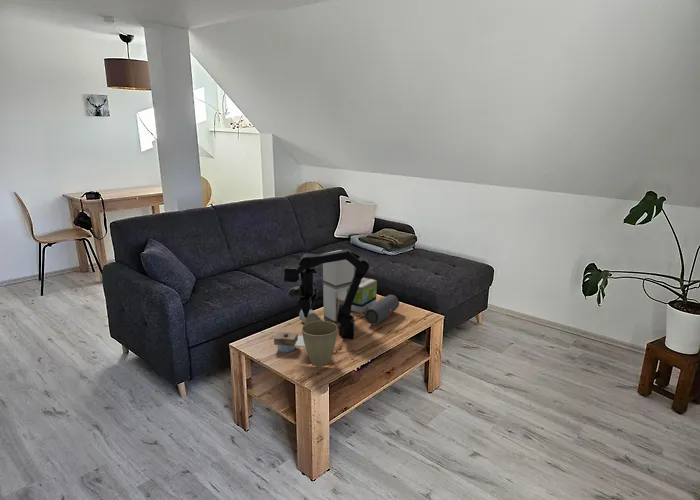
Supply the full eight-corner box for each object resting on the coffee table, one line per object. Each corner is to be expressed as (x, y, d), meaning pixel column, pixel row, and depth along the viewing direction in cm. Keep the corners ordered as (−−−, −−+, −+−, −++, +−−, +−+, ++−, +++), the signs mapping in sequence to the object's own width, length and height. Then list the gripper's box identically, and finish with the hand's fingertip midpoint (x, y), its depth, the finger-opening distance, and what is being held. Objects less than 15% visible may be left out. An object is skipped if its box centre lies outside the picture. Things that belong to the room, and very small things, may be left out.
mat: (310, 338, 220) (310, 336, 220) (305, 348, 211) (305, 346, 210) (289, 337, 221) (289, 335, 221) (284, 346, 212) (283, 344, 212)
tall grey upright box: (336, 325, 233) (335, 258, 224) (323, 319, 242) (322, 253, 232) (354, 320, 240) (354, 254, 231) (341, 313, 248) (341, 249, 239)
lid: (297, 339, 210) (297, 331, 209) (294, 345, 204) (294, 338, 203) (278, 338, 211) (278, 330, 210) (274, 344, 205) (273, 337, 204)
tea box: (362, 313, 248) (362, 287, 244) (346, 309, 253) (346, 284, 250) (376, 304, 260) (377, 279, 256) (361, 301, 266) (361, 276, 262)
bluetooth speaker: (379, 328, 230) (380, 309, 228) (363, 324, 235) (363, 306, 232) (400, 313, 249) (400, 295, 246) (384, 309, 254) (384, 292, 251)
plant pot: (345, 361, 199) (345, 327, 194) (320, 375, 188) (319, 339, 184) (320, 350, 208) (319, 317, 204) (295, 363, 197) (294, 328, 193)
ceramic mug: (305, 328, 231) (305, 313, 229) (298, 322, 238) (298, 308, 236) (325, 324, 236) (325, 309, 234) (317, 318, 243) (317, 304, 241)
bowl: (296, 346, 212) (296, 338, 211) (292, 354, 205) (292, 346, 204) (280, 346, 213) (280, 337, 212) (276, 353, 206) (276, 345, 205)
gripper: (294, 274, 224) (295, 305, 228) (284, 287, 206) (285, 320, 210) (317, 275, 223) (318, 306, 227) (309, 289, 205) (310, 322, 209)
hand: (308, 313), depth 218 cm, fingers open, 9 cm apart
